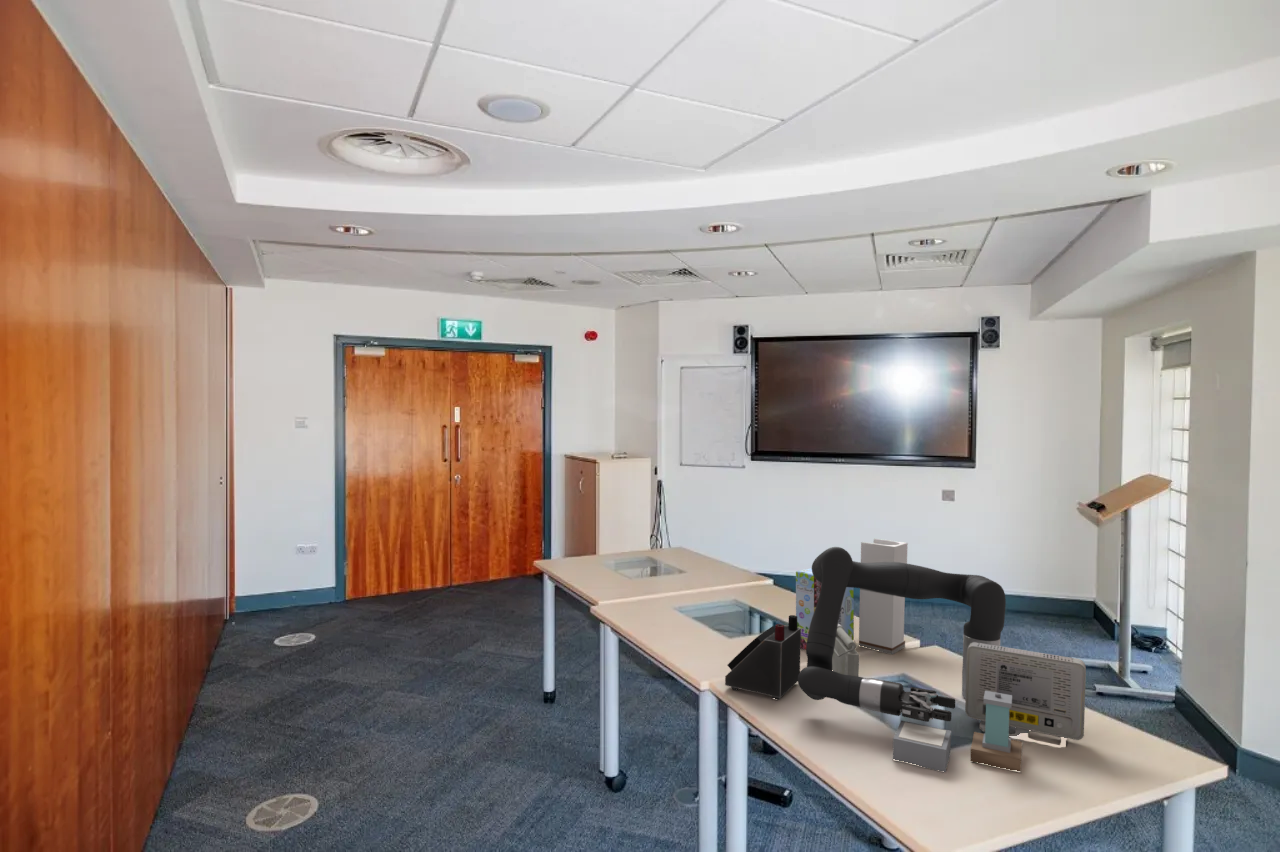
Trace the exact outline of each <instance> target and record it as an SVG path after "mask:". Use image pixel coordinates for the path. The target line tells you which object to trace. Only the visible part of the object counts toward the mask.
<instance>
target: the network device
mask: <svg viewBox="0 0 1280 852" xmlns="http://www.w3.org/2000/svg"><path fill="white" fill-rule="evenodd" d="M1086 670H1087V669H1086V663H1085V662H1084V661H1083V660H1081V659H1080V658H1075V657H1068V656H1063V655H1058V654H1057V655H1056V654H1051V653H1043V652H1038V651H1032V650H1025V649H1019V648H1013V647H1007V646H1001V645H1000V646H995V645H989V644H983V643H977V642H973V643H971V644H970V645H969V647H968V649H967V660H966V697H965V698H964V699H965V700H964V701H965V702H964V703H965V704H964V711H965V714H966V716H967V717H969V718H971V719H974V720H980V722H979V729H980V730H981V732H982V731H983V732H984V733H985V723H986V703H983V702H984V694H985V691H991V692H996V693H1002V694H1007V695H1012V707H1011V708H1009V727H1013V728H1015V727H1016V728H1015V731H1014V733H1009V736H1017V735H1019V734H1020V733H1029V734H1030V732H1036V733H1040V734H1044V735H1051V736H1055V737H1059V738H1060V737H1064V738H1067V739H1069V740H1073V741H1081V740H1082V739H1083V738H1084V737H1085V734H1084V733H1085V710H1086V683H1087V682H1086V680H1087V679H1086V678H1087V677H1086V675H1087V671H1086ZM1029 730H1031V731H1030V732H1029Z"/></svg>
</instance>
